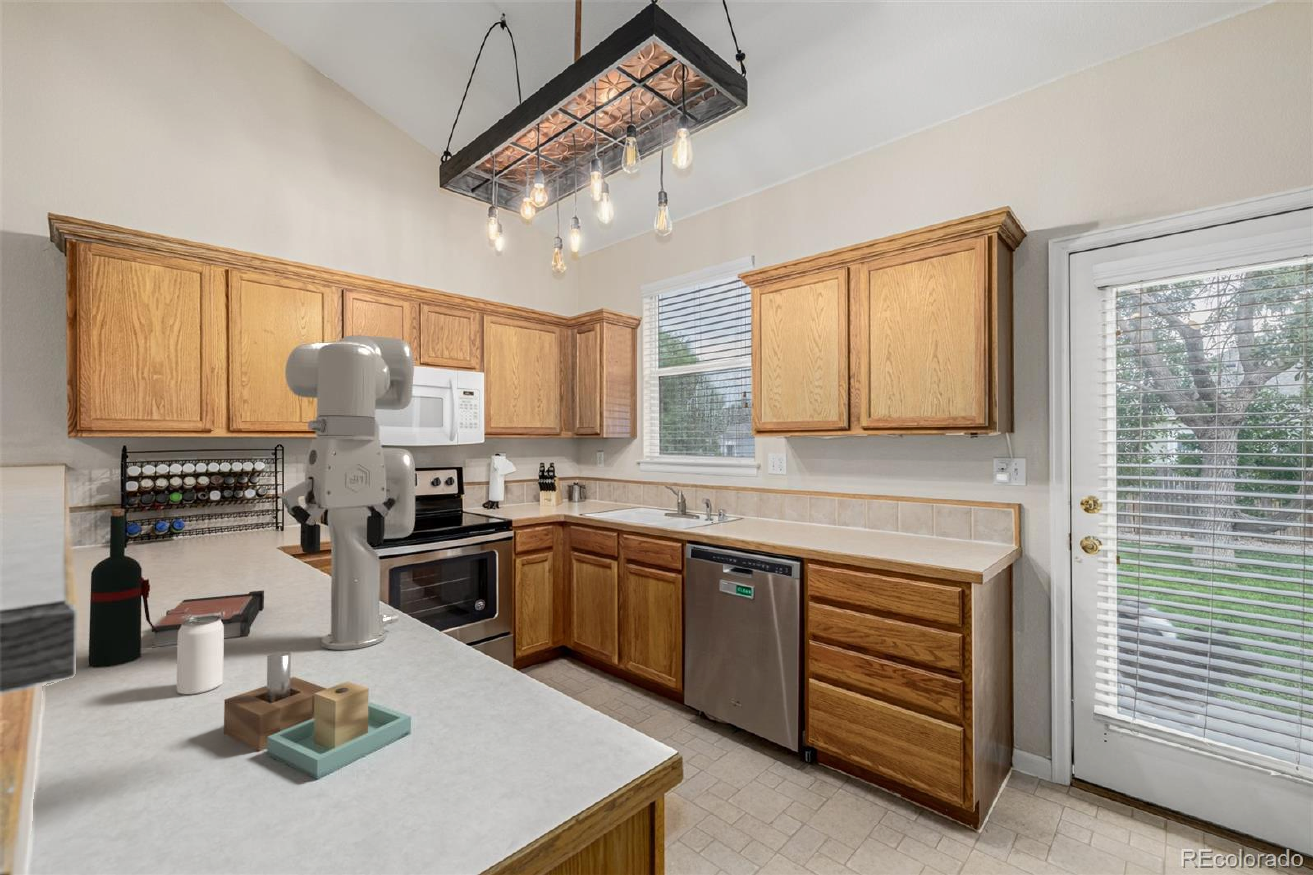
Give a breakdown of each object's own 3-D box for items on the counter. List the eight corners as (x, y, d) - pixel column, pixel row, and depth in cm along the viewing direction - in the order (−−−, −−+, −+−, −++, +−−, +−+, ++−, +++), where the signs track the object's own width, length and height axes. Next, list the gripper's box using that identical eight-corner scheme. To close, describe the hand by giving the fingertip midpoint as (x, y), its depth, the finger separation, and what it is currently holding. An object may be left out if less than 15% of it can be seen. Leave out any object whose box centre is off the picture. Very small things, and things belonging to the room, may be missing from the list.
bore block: (293, 707, 95) (293, 676, 95) (329, 721, 90) (329, 689, 90) (223, 733, 87) (224, 699, 87) (259, 751, 82) (260, 715, 82)
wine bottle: (162, 654, 119) (165, 508, 119) (95, 670, 110) (98, 512, 111) (146, 647, 123) (149, 505, 123) (81, 662, 114) (84, 510, 115)
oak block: (346, 727, 87) (347, 680, 88) (367, 736, 85) (368, 687, 85) (313, 742, 83) (314, 692, 83) (334, 751, 81) (335, 700, 81)
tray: (361, 714, 93) (361, 699, 93) (410, 733, 87) (410, 716, 87) (267, 754, 81) (267, 736, 81) (317, 779, 75) (317, 760, 75)
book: (180, 618, 145) (180, 598, 145) (263, 609, 153) (264, 590, 154) (147, 651, 122) (147, 627, 122) (247, 638, 130) (247, 616, 130)
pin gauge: (283, 714, 90) (284, 650, 91) (293, 719, 89) (294, 653, 89) (262, 722, 88) (263, 656, 88) (272, 727, 86) (273, 659, 87)
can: (197, 697, 99) (198, 626, 99) (166, 694, 100) (167, 624, 100) (232, 682, 105) (233, 616, 105) (203, 679, 106) (204, 613, 107)
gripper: (300, 427, 75) (297, 560, 75) (414, 431, 90) (412, 541, 90) (268, 428, 79) (266, 554, 79) (383, 431, 94) (382, 537, 94)
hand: (344, 547), depth 84 cm, fingers open, 9 cm apart
